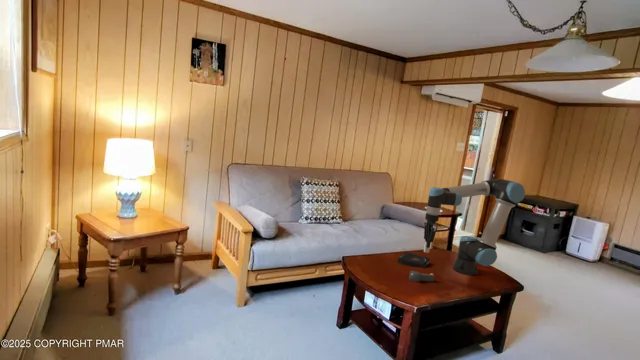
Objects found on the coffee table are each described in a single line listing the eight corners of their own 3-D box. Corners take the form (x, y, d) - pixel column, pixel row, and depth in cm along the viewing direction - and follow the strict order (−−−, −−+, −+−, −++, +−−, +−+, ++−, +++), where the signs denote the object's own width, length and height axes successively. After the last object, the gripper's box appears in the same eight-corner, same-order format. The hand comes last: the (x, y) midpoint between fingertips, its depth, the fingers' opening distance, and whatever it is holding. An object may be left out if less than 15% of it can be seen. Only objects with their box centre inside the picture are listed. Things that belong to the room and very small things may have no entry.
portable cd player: (422, 270, 226) (423, 265, 225) (397, 263, 235) (398, 257, 234) (429, 264, 240) (430, 258, 239) (405, 257, 249) (406, 251, 248)
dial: (411, 281, 201) (412, 274, 201) (407, 277, 208) (408, 270, 207) (434, 283, 203) (436, 276, 203) (430, 278, 210) (431, 271, 209)
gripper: (422, 210, 213) (416, 247, 217) (431, 215, 201) (424, 255, 204) (433, 211, 214) (427, 248, 218) (443, 217, 202) (436, 256, 205)
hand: (426, 252), depth 211 cm, fingers closed
